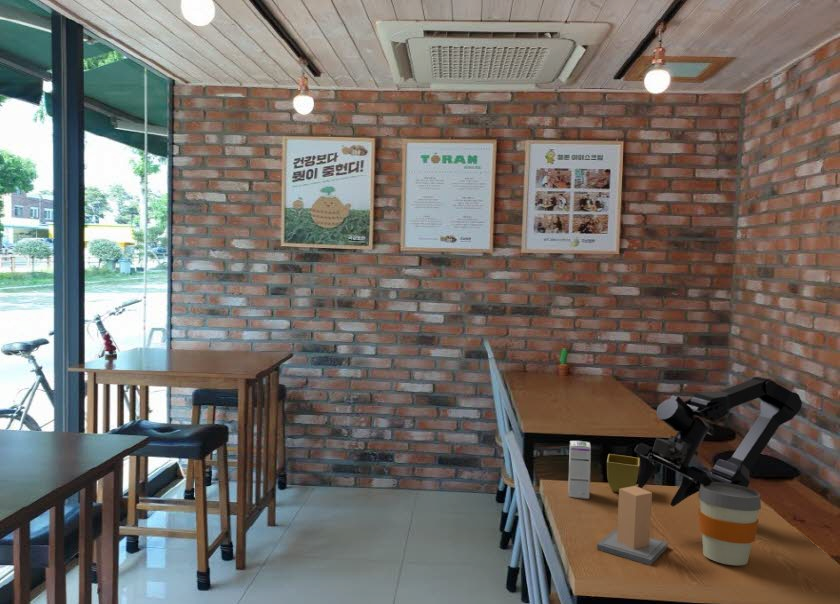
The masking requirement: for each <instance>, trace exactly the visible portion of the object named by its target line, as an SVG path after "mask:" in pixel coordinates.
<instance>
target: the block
mask: <svg viewBox="0 0 840 604" xmlns="http://www.w3.org/2000/svg"><path fill="white" fill-rule="evenodd" d="M652 501H653V492H652V491H649V490H646V489H644V488H639V487H638V485H635V486H631V487H626V488H621V489H619V492H618V505H617V507H618V508H617V525H616V528H617V541H619V542H621V543H623V544H625V545H627V546H628V547H630V548H632V549H636V548H639V547H643V546H647V545H649V542H650V536H651V523H652V522H651V519H652V507H653V506H652V505H653V504H652V503H653V502H652Z"/></svg>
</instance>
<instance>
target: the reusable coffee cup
mask: <svg viewBox="0 0 840 604" xmlns="http://www.w3.org/2000/svg"><path fill="white" fill-rule="evenodd" d="M698 499H699V505H700V508H698V522H699V531H700V533H701V536H702V537H701V539H702V541H701V542H702V553H703V555H704V557H706V558H707V559H709V560H712V561H714V562H716V563H720V564H723V565H729V566H746V565H747V564H748V562H749V558H750V557H749V556H750V553H751V548H752V543H754V542H755V539H756V535H757V531H758V526H759V519H758V515H759V510H761V508H762V503H761V502H762V501H761V493H760V492H759V491H757V490H755V489H752V488H749V487H748V488H747V487H743V486H739V485H735V484H729V483H721V482H711V484H710V485H709V486H704V485H703V484H701V485H700V490H699V491H698Z"/></svg>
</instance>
